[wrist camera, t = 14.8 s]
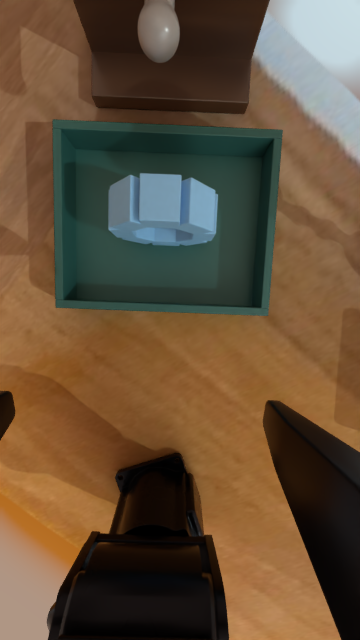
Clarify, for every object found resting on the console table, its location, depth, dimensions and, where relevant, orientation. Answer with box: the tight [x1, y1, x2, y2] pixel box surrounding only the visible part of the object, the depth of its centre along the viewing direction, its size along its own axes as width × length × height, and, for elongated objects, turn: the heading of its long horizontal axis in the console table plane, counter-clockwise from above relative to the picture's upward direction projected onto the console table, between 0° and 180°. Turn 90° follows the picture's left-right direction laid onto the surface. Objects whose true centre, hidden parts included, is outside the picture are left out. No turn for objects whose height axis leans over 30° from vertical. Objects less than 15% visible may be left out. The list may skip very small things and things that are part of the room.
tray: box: [53, 119, 283, 316], centre depth 19 cm, size 13×16×3 cm
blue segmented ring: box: [108, 173, 218, 246], centre depth 17 cm, size 2×7×7 cm, turn 88°
